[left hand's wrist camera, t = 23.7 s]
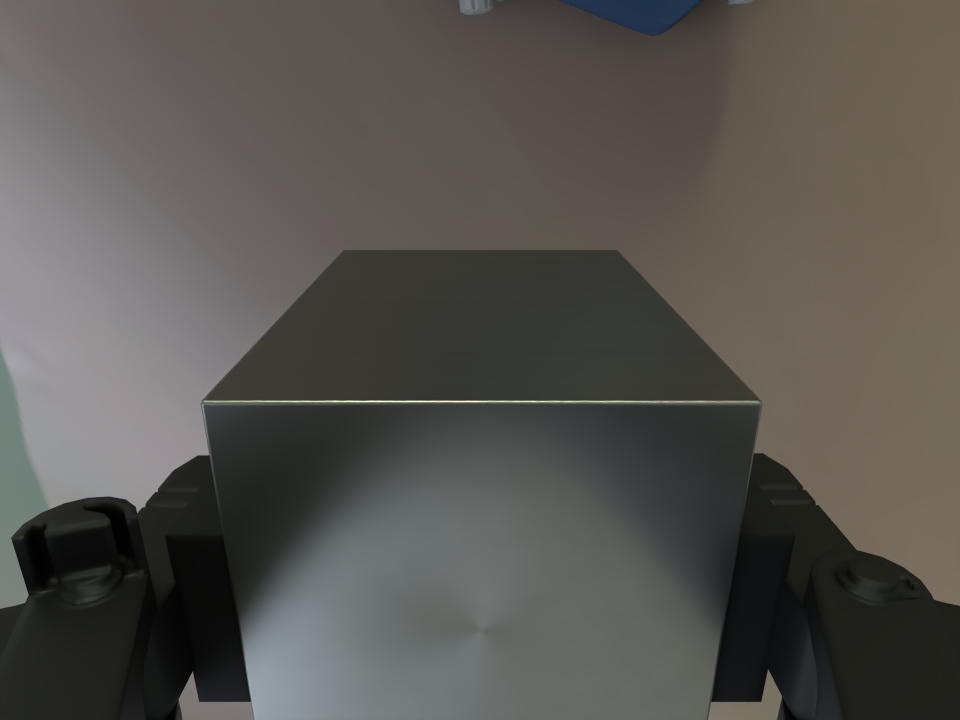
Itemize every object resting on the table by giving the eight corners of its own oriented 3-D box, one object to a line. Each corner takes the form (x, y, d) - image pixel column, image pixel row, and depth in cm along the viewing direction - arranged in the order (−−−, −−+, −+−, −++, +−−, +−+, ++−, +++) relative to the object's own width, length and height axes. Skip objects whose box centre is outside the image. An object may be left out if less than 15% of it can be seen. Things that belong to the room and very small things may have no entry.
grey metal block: (361, 493, 17) (266, 803, 9) (342, 249, 15) (198, 401, 7) (598, 493, 17) (694, 804, 9) (618, 249, 15) (763, 401, 7)
